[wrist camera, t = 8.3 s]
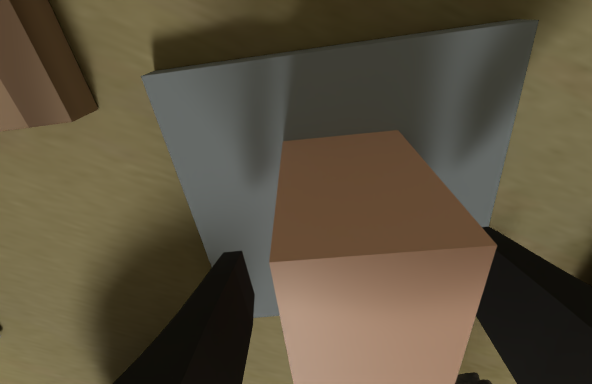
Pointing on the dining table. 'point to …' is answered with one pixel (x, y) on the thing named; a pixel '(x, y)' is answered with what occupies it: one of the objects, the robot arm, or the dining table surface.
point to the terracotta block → (373, 263)
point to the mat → (337, 123)
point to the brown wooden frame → (38, 69)
